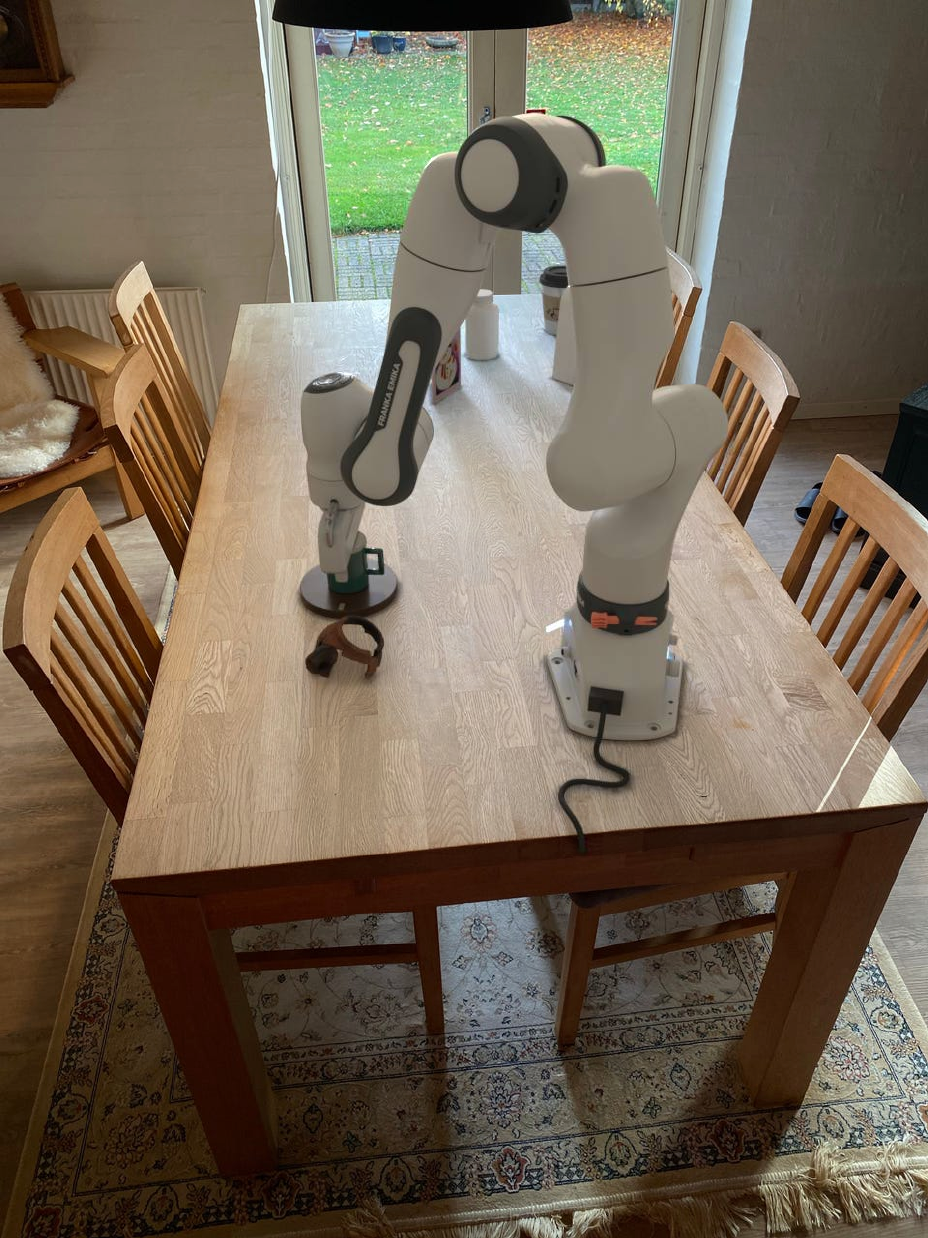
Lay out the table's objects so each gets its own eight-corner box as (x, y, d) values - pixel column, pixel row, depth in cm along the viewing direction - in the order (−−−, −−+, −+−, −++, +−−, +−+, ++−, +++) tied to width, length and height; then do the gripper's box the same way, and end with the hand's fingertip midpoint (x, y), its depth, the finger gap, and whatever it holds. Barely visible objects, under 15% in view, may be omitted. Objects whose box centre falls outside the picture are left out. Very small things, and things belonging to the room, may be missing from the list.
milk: (551, 378, 214) (558, 261, 199) (581, 364, 221) (590, 249, 206) (594, 391, 208) (604, 271, 192) (624, 376, 214) (635, 259, 199)
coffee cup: (533, 336, 236) (535, 275, 227) (540, 321, 245) (543, 262, 236) (578, 339, 234) (582, 278, 225) (583, 324, 243) (588, 265, 234)
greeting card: (436, 404, 203) (435, 336, 194) (408, 397, 206) (405, 330, 197) (464, 386, 210) (463, 320, 202) (436, 380, 214) (435, 314, 205)
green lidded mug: (382, 595, 142) (379, 552, 137) (323, 593, 142) (318, 551, 138) (388, 571, 147) (385, 529, 143) (331, 569, 148) (326, 528, 143)
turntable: (391, 621, 139) (390, 612, 139) (291, 617, 140) (290, 609, 139) (402, 565, 152) (402, 557, 151) (311, 563, 152) (310, 555, 151)
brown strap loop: (333, 639, 137) (358, 601, 132) (376, 684, 135) (403, 647, 130) (277, 665, 127) (302, 625, 122) (324, 715, 125) (351, 676, 121)
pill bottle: (461, 359, 224) (460, 296, 215) (470, 347, 230) (470, 285, 221) (493, 362, 222) (493, 299, 213) (501, 350, 228) (503, 288, 219)
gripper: (349, 522, 126) (356, 605, 135) (370, 453, 143) (376, 531, 151) (303, 521, 127) (313, 604, 135) (329, 452, 143) (337, 530, 151)
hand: (346, 565), depth 143 cm, fingers closed on green lidded mug, 6 cm apart
